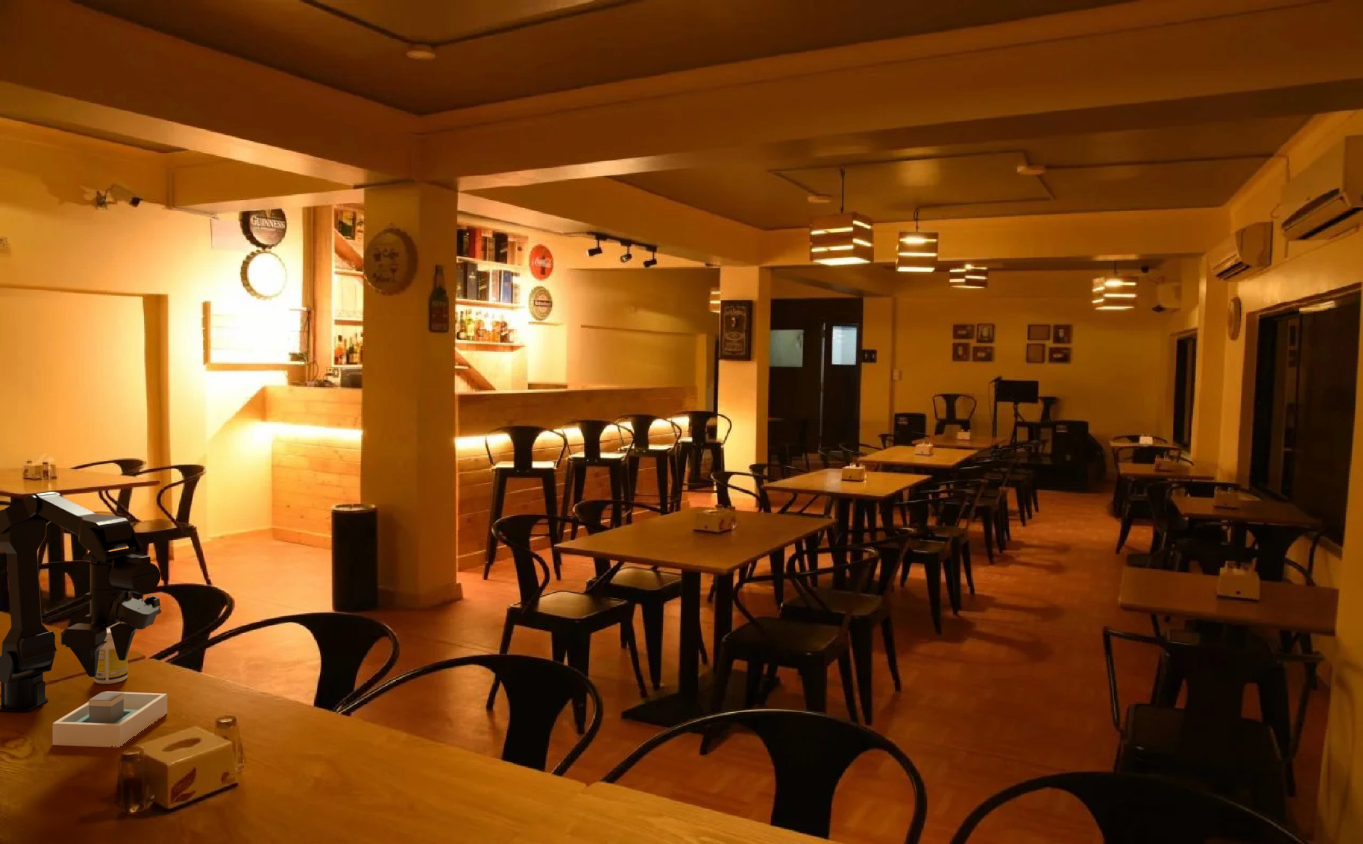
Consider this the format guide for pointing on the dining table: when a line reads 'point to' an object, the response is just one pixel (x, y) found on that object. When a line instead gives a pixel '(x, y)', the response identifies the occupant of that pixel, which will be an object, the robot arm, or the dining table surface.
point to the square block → (106, 707)
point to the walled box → (136, 718)
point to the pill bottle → (110, 664)
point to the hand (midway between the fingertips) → (107, 668)
